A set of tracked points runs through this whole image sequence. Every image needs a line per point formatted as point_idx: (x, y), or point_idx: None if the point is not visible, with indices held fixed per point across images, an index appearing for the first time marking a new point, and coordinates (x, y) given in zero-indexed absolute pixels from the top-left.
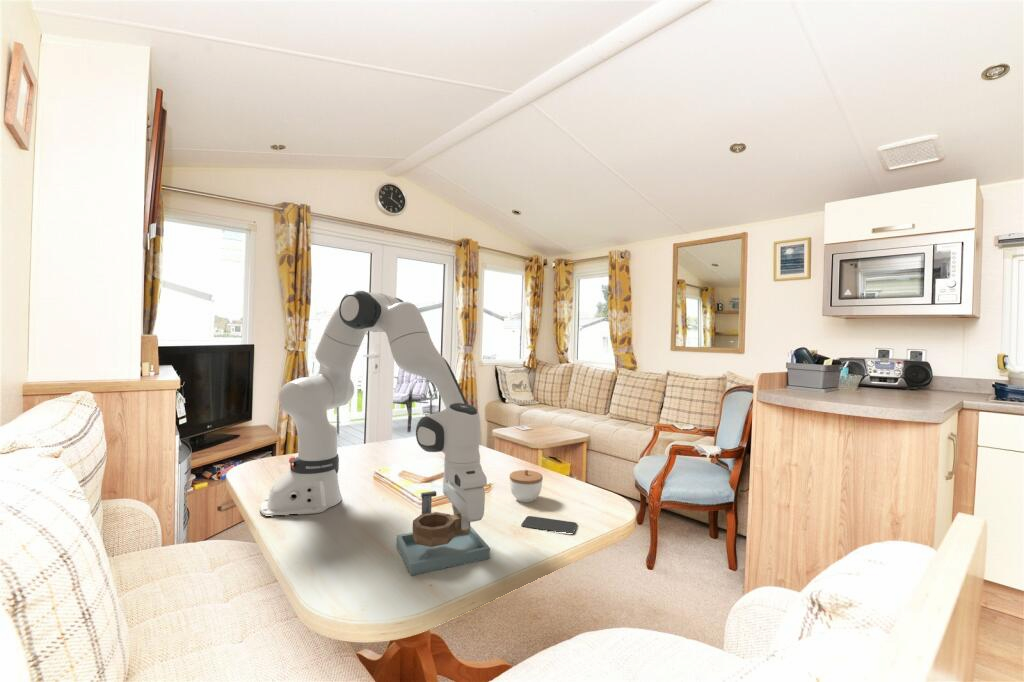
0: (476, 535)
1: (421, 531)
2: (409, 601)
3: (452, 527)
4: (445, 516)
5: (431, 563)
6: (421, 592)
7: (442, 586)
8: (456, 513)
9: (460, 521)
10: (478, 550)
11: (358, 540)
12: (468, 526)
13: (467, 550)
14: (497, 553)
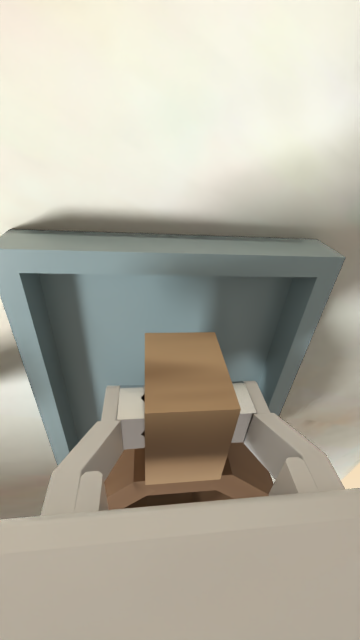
0: (183, 266)
1: None
2: (327, 454)
3: (243, 458)
4: (143, 492)
5: None
6: (319, 437)
7: (334, 405)
8: (117, 448)
9: (231, 441)
10: (321, 313)
11: (17, 508)
12: (258, 388)
13: (290, 350)
14: (306, 181)
